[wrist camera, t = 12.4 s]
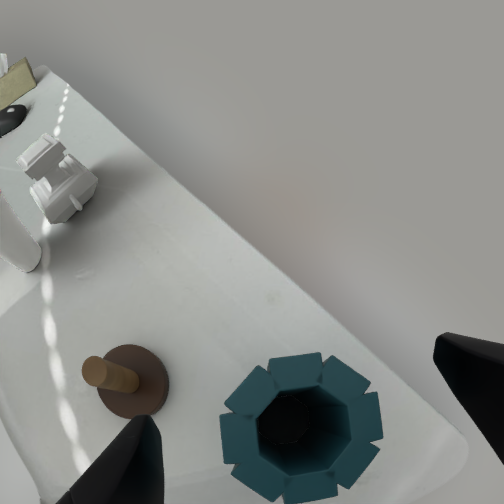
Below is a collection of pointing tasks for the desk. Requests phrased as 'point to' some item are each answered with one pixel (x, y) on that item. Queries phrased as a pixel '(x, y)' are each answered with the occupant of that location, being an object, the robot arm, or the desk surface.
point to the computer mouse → (11, 117)
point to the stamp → (56, 179)
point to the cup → (16, 240)
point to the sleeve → (313, 439)
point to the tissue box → (14, 80)
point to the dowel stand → (128, 380)
